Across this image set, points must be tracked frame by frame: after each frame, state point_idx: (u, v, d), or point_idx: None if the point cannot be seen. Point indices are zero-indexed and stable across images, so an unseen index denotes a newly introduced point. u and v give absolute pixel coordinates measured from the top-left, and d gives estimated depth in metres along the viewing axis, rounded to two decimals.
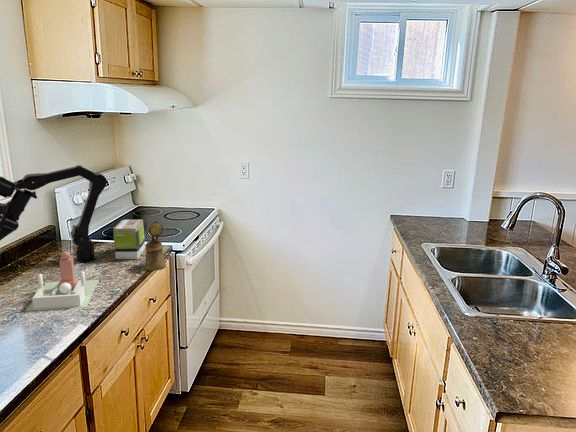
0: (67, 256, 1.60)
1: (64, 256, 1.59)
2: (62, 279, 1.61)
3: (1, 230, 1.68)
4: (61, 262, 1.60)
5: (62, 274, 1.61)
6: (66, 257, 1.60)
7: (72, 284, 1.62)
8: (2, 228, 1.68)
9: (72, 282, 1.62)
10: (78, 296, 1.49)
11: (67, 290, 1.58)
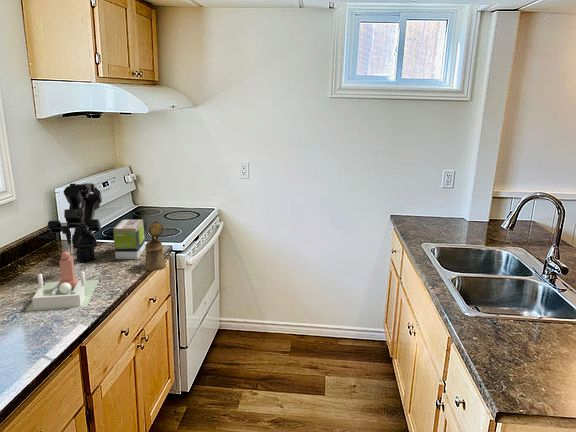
0: (67, 256, 1.60)
1: (64, 256, 1.59)
2: (62, 279, 1.61)
3: (81, 233, 1.73)
4: (61, 262, 1.60)
5: (62, 274, 1.61)
6: (66, 257, 1.60)
7: (72, 284, 1.62)
8: None
9: (72, 282, 1.62)
10: (78, 296, 1.49)
11: (67, 290, 1.58)
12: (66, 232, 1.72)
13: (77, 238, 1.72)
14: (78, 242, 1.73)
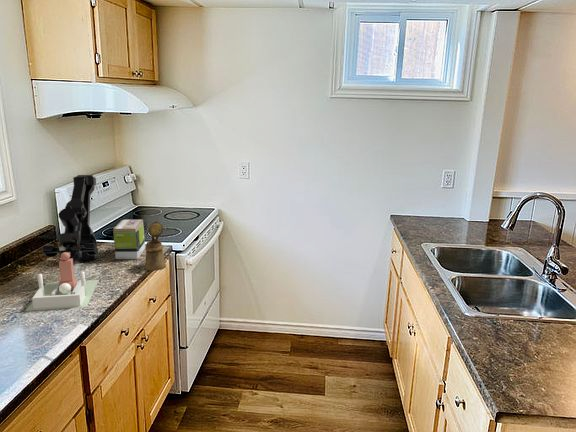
0: (66, 257, 1.59)
1: (64, 257, 1.59)
2: (61, 280, 1.61)
3: (73, 258, 1.65)
4: (60, 263, 1.59)
5: (61, 275, 1.60)
6: (65, 258, 1.59)
7: (71, 285, 1.61)
8: None
9: (71, 283, 1.61)
10: (78, 296, 1.49)
11: (67, 291, 1.58)
12: None
13: None
14: None
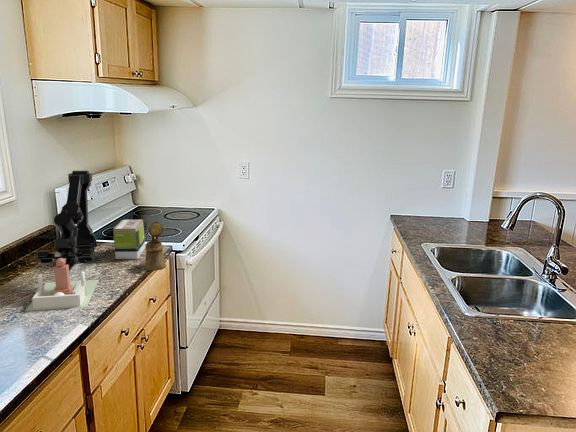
0: (62, 263, 1.53)
1: (59, 263, 1.53)
2: (57, 287, 1.55)
3: (69, 264, 1.59)
4: (56, 269, 1.53)
5: (57, 282, 1.54)
6: (61, 264, 1.53)
7: (67, 292, 1.55)
8: None
9: (67, 290, 1.55)
10: (78, 296, 1.49)
11: None
12: None
13: None
14: None
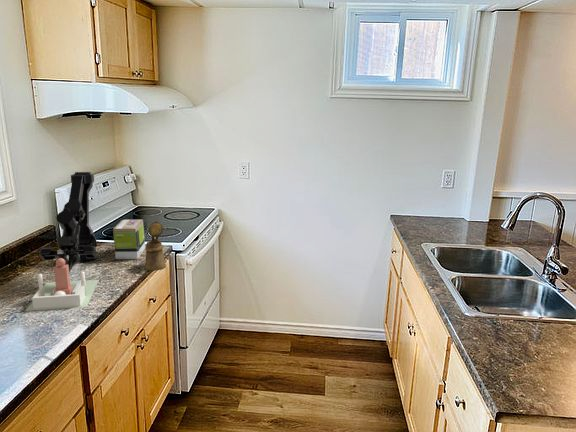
0: (62, 263, 1.53)
1: (59, 263, 1.53)
2: (57, 287, 1.55)
3: None
4: (56, 269, 1.53)
5: (57, 282, 1.54)
6: (61, 264, 1.53)
7: (67, 292, 1.55)
8: None
9: (67, 290, 1.55)
10: (78, 296, 1.49)
11: None
12: None
13: None
14: (69, 271, 1.62)
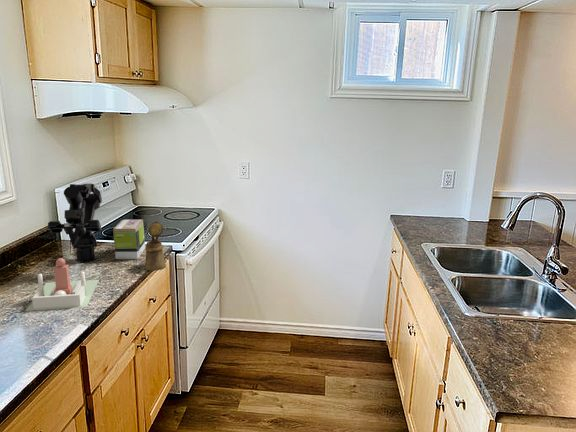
0: (62, 263, 1.53)
1: (59, 263, 1.53)
2: (57, 287, 1.55)
3: (78, 234, 1.73)
4: (56, 269, 1.53)
5: (57, 282, 1.54)
6: (61, 264, 1.53)
7: (67, 292, 1.55)
8: None
9: (67, 290, 1.55)
10: (78, 296, 1.49)
11: None
12: (69, 232, 1.72)
13: (74, 239, 1.72)
14: (75, 243, 1.73)
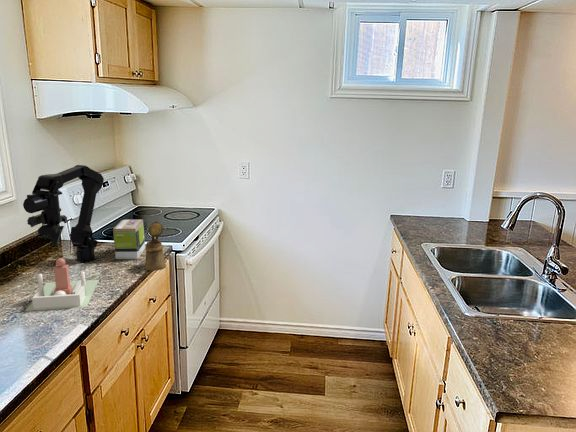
0: (62, 263, 1.53)
1: (59, 263, 1.53)
2: (57, 287, 1.55)
3: (50, 235, 1.72)
4: (56, 269, 1.53)
5: (57, 282, 1.54)
6: (61, 264, 1.53)
7: (67, 292, 1.55)
8: (50, 233, 1.72)
9: (67, 290, 1.55)
10: (78, 296, 1.49)
11: None
12: None
13: None
14: (55, 243, 1.74)
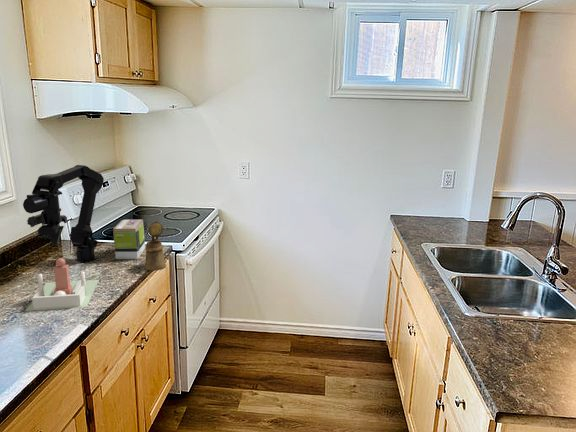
0: (62, 263, 1.53)
1: (59, 263, 1.53)
2: (57, 287, 1.55)
3: (50, 235, 1.72)
4: (56, 269, 1.53)
5: (57, 282, 1.54)
6: (61, 264, 1.53)
7: (67, 292, 1.55)
8: None
9: (67, 290, 1.55)
10: (78, 296, 1.49)
11: None
12: None
13: None
14: (55, 243, 1.74)
